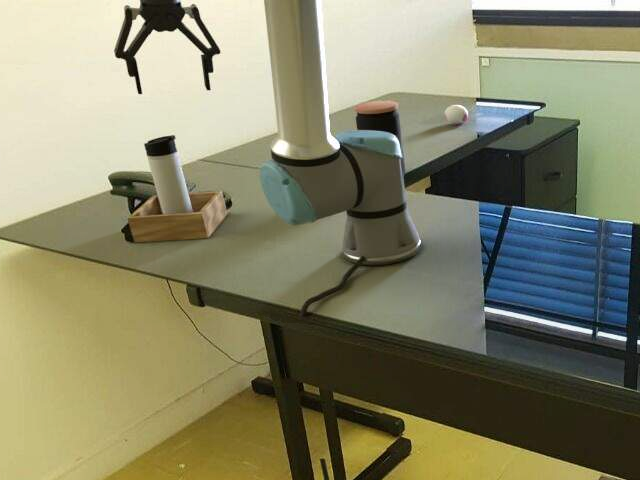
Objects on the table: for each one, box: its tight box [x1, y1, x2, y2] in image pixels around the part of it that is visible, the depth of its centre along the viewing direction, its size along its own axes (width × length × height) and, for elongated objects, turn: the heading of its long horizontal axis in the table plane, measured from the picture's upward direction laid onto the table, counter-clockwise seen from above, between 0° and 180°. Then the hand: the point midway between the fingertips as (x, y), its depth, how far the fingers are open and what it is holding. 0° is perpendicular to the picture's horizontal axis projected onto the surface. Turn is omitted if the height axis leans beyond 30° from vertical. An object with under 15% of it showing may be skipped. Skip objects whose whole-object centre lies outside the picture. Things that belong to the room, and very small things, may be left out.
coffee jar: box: [353, 100, 407, 177], centre depth 196 cm, size 11×11×18 cm
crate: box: [126, 190, 228, 243], centre depth 175 cm, size 16×16×6 cm
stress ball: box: [444, 104, 469, 127], centre depth 249 cm, size 8×8×7 cm
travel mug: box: [143, 134, 193, 215], centre depth 171 cm, size 6×7×20 cm
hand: (174, 90), depth 165 cm, fingers open, 13 cm apart
